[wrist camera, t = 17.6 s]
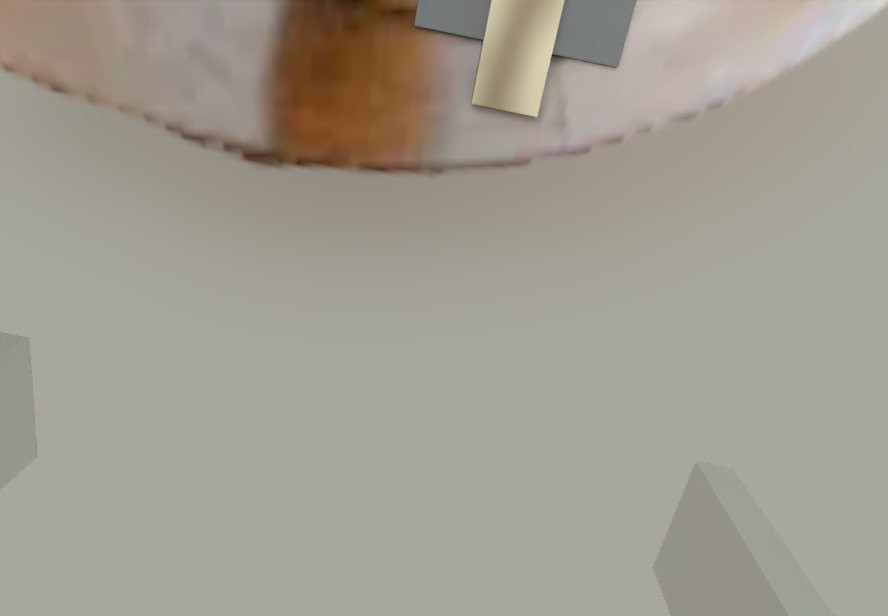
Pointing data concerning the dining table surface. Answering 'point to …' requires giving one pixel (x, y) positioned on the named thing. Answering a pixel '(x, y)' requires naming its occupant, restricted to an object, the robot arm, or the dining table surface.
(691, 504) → the robot arm
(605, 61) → the mat
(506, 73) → the block
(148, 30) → the dining table surface
